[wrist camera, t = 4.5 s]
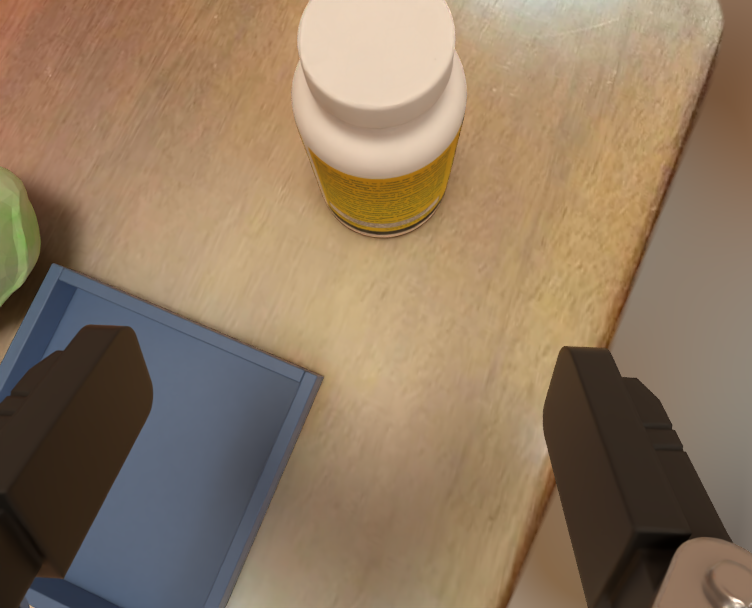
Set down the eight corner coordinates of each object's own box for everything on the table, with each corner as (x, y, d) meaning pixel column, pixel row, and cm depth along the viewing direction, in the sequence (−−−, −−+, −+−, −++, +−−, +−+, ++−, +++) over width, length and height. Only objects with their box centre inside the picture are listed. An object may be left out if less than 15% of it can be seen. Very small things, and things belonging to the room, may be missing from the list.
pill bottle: (469, 201, 26) (525, 69, 15) (359, 263, 26) (335, 174, 15) (406, 100, 27) (415, -94, 16) (299, 158, 27) (234, 1, 16)
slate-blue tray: (324, 376, 25) (318, 375, 23) (204, 656, 23) (185, 683, 21) (79, 272, 26) (52, 262, 24) (-52, 531, 24) (-93, 545, 22)
